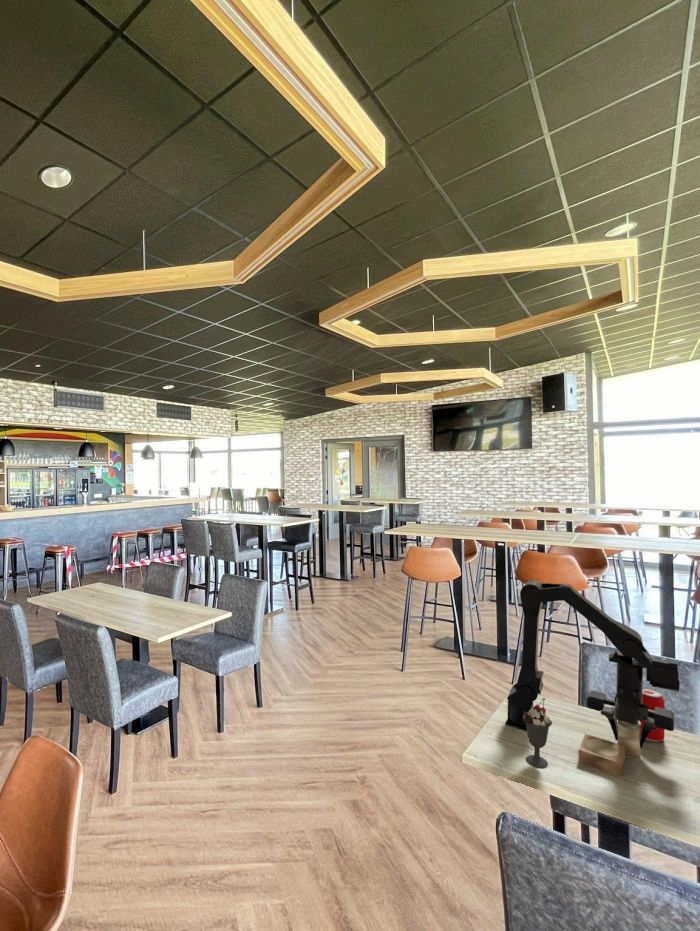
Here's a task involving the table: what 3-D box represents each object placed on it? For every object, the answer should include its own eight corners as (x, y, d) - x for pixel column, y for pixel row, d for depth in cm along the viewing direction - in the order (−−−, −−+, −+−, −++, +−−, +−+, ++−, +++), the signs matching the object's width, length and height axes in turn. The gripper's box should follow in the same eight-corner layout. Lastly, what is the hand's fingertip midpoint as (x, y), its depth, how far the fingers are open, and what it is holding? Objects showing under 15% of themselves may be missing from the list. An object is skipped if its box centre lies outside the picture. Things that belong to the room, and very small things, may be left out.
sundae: (554, 759, 114) (555, 697, 115) (548, 773, 109) (549, 708, 109) (526, 750, 118) (527, 690, 118) (519, 763, 112) (520, 700, 113)
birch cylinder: (616, 753, 118) (616, 721, 118) (618, 744, 122) (618, 713, 122) (639, 760, 115) (639, 728, 115) (641, 751, 119) (641, 719, 119)
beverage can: (668, 745, 122) (669, 698, 122) (642, 741, 123) (642, 695, 123) (658, 732, 128) (658, 688, 128) (633, 729, 129) (633, 685, 130)
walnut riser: (578, 762, 114) (578, 749, 114) (584, 745, 121) (585, 733, 121) (621, 776, 108) (621, 763, 108) (625, 758, 116) (625, 745, 116)
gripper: (583, 682, 117) (582, 744, 117) (673, 704, 107) (673, 773, 106) (590, 667, 127) (589, 726, 126) (674, 687, 116) (673, 751, 115)
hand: (628, 743), depth 118 cm, fingers closed on birch cylinder, 5 cm apart
